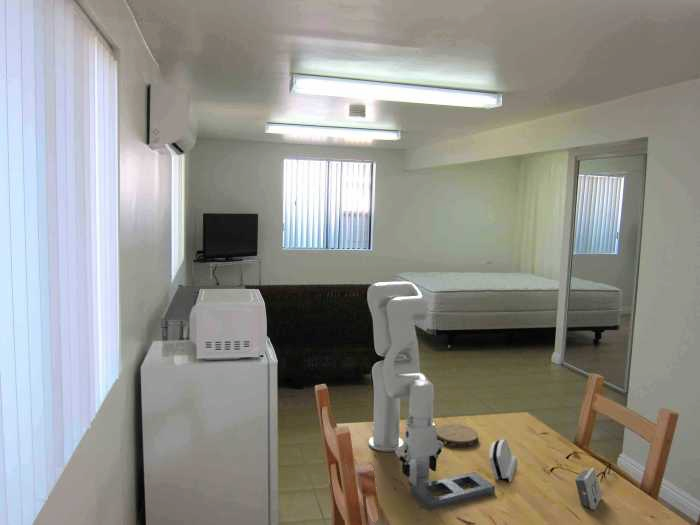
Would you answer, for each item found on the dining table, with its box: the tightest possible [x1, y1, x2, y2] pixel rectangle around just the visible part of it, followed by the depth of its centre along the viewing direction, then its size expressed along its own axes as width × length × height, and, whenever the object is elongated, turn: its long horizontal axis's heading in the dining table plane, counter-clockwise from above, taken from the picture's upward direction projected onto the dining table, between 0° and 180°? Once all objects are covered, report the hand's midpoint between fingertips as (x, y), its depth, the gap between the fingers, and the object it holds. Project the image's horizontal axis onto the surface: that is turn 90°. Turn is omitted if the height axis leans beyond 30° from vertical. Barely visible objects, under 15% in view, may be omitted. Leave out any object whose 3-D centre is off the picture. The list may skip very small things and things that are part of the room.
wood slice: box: [436, 423, 479, 449], centre depth 212 cm, size 16×16×3 cm
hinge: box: [489, 439, 518, 483], centre depth 189 cm, size 17×5×10 cm, turn 157°
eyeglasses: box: [549, 451, 612, 483], centre depth 188 cm, size 16×16×4 cm
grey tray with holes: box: [410, 471, 496, 511], centre depth 172 cm, size 10×24×2 cm, turn 115°
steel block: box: [408, 457, 430, 486], centre depth 178 cm, size 4×4×10 cm
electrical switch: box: [575, 467, 602, 511], centre depth 169 cm, size 9×5×9 cm, turn 143°
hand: (419, 472), depth 178 cm, fingers open, 9 cm apart
